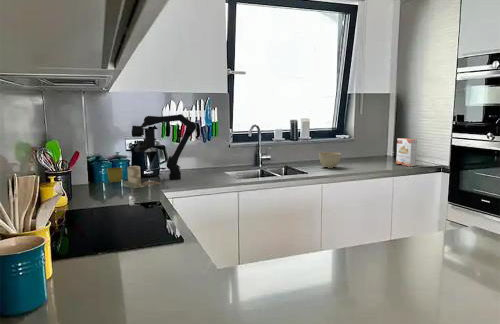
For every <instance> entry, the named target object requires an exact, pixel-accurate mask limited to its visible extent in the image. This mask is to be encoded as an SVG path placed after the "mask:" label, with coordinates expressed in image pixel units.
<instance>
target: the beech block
mask: <svg viewBox="0 0 500 324" xmlns="http://www.w3.org/2000/svg"><path fill="white" fill-rule="evenodd" d="M126 168H127V169H126V170H127V182H131V183H135V187H138V186H141V184H142V178H141V177H142V176H141V175H142V174H141V166H139V165H131V166H130V165H129V166H127V167H126Z"/></svg>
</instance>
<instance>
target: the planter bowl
mask: <svg viewBox="0 0 500 324" xmlns="http://www.w3.org/2000/svg"><path fill="white" fill-rule="evenodd" d="M341 155H342V154H341V153H340V152H331V151H329V152H328V151H325V152H319V153H318V156H319V157H318V158H319V161H320V164H321V165H322V168H324V167H328V168H327V169H334V168H333V167H336V168H337V166H338V164H339V163H340V160H341Z"/></svg>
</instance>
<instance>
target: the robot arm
mask: <svg viewBox="0 0 500 324" xmlns="http://www.w3.org/2000/svg"><path fill="white" fill-rule="evenodd" d="M171 122H180V123H182V124H183V125H184V126H185V130H184V133H183V136H182V138H181V139H180V142H179V144H178V145H177V147H176V150H175V151H174V153H173V154H172V155H169V156H168V158H167V160H166V169H168V170H169V173H168V180H169V181H178V180H180V181H181V180H182V175H181V174H182V173H181V166H180V165H178V162H179V158H180V156H181V154H182V152H183V150H184V148H185V147H186V144H187V143H188V142H189V141H188V140H189V139H190V137H191V136H192V134H193V133H194V132H195V131H196V129H197V123H196V122H194V121H191V120H189V119H188V118H187V117H186V116H184V115H183V114H181V113H180V114H174V115H173V114H172V115H165V116H164V115H163V116H157V115H156V116H155V115H148V116H147V115H146V116H145V117H144V119H143V123H141V124H140V125H131V137H132V138H142V137H143V136H144V138H143V141H141V140H138V141H137V142H136V143H137V146H135V147H134V152H136V153H145V155H146V157H147V159H148V161H149V163H153V160H154V158H155V156H156V154H157V153H158V152H159V151H158V150H161V151H165V150H167V149H166V148H167V147H166V146H165V144H156V141H157V138H156V135H155V134H156V133H155V130H158V127H157V126H156V124H161V123H171Z"/></svg>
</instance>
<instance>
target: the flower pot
mask: <svg viewBox="0 0 500 324" xmlns="http://www.w3.org/2000/svg"><path fill="white" fill-rule="evenodd" d="M106 173H107V178H108V181H109V183H111V184H112V183H118V182H119V183H120V182H122V180H123V167H110V168H106Z"/></svg>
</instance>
